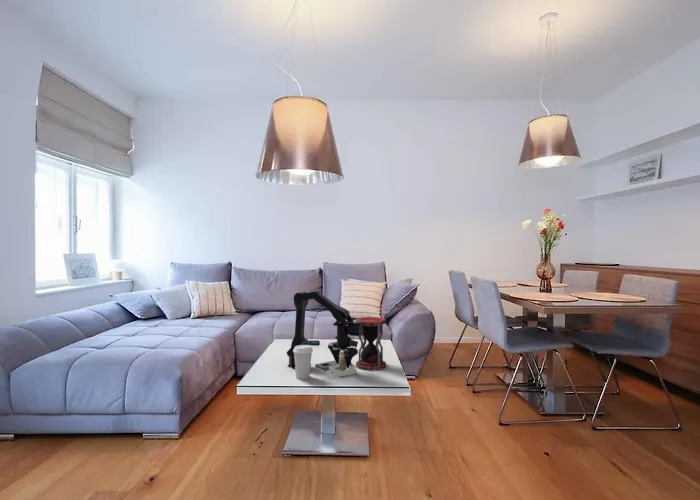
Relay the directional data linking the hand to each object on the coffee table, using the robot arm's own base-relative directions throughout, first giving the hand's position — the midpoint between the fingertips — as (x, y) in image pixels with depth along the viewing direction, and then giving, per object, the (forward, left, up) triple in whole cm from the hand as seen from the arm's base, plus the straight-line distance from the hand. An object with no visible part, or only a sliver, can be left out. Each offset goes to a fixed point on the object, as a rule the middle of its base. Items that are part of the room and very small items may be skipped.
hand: (342, 365), depth 208 cm
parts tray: (0, 0, -4) cm, 4 cm away
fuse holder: (+3, +13, -4) cm, 14 cm away
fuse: (+8, +13, -4) cm, 16 cm away
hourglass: (+19, +1, -4) cm, 19 cm away
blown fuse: (0, 0, -3) cm, 3 cm away
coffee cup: (-20, +5, -4) cm, 21 cm away
